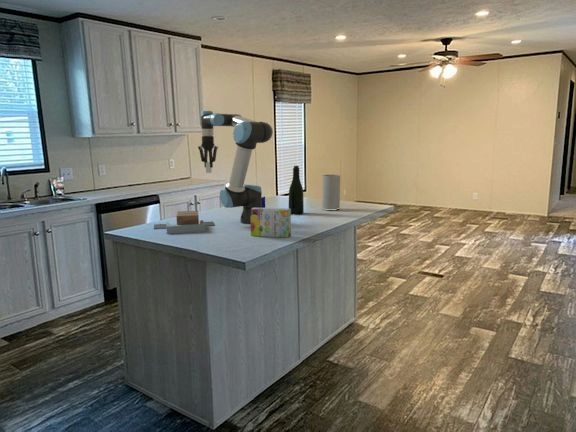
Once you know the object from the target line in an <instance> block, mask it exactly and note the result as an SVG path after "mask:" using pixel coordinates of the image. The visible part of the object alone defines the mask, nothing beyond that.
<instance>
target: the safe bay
mask: <svg viewBox="0 0 576 432" xmlns="http://www.w3.org/2000/svg"><path fill="white" fill-rule="evenodd" d="M199 222H200V223H201V224H186V225H177V224H173V225H172V224H170V222H169V221H166V222H165V224H166V234H169V235H172V234H182V233H184V234H185V233H186V234H187V233H202V232H204V233H205V232H206V226H205V223H204V222H205V221H204V220H203V219H201V220H200V219H199ZM169 224H170V225H169Z"/></svg>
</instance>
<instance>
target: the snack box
mask: <svg viewBox="0 0 576 432" xmlns="http://www.w3.org/2000/svg"><path fill="white" fill-rule="evenodd" d="M291 221H292V214H291V209H289V208H285V207H284V208H283V207H282V208H278V207H265V208H252V209H251V224H250V236H251V237H271V238H287V239H288V238H290V237H291V236H292V235H291V234H292V233H291V231H292V229H291V228H292V227H291V225H292V224H291V223H292V222H291Z"/></svg>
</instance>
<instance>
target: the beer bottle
mask: <svg viewBox="0 0 576 432" xmlns="http://www.w3.org/2000/svg"><path fill="white" fill-rule="evenodd" d="M304 201H305V199H304V189H303V184H302V183H301V180H300V167H299V165H294V166H293V167H292V180H291V183H290V185H289V190H288V209H291V215H293V214H299V215H302V213H303V214H304V210H305V209H304V207H305V206H304V204H305V203H304Z"/></svg>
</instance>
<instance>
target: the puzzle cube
mask: <svg viewBox="0 0 576 432" xmlns="http://www.w3.org/2000/svg"><path fill="white" fill-rule="evenodd" d="M262 208H266V196H265V195H264V196H262Z"/></svg>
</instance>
